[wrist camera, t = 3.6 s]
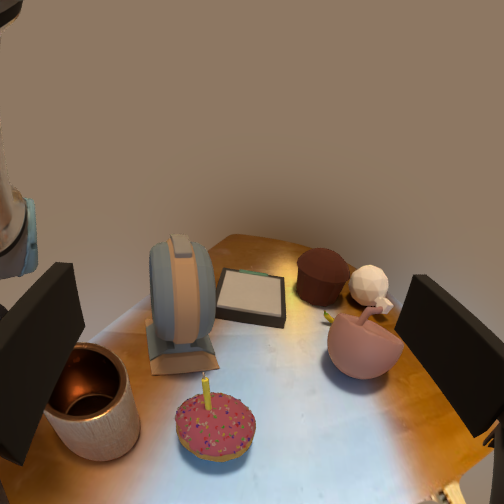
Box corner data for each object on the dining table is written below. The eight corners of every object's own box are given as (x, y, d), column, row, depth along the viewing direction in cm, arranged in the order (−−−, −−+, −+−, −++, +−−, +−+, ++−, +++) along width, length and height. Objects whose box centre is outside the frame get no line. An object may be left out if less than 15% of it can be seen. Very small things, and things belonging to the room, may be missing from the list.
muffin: (351, 302, 61) (365, 262, 57) (316, 316, 55) (330, 271, 51) (315, 276, 70) (326, 238, 66) (279, 285, 64) (289, 243, 59)
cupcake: (162, 442, 28) (151, 383, 22) (208, 403, 34) (213, 338, 29) (221, 486, 24) (232, 443, 19) (263, 438, 30) (286, 380, 25)
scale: (209, 316, 51) (211, 303, 49) (221, 277, 63) (223, 264, 62) (283, 328, 51) (287, 315, 49) (281, 286, 63) (284, 274, 62)
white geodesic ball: (334, 285, 63) (363, 323, 54) (357, 252, 60) (392, 288, 51) (356, 290, 68) (384, 325, 59) (379, 260, 64) (411, 294, 55)
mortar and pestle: (391, 360, 45) (419, 309, 40) (373, 406, 36) (409, 351, 31) (334, 333, 51) (354, 280, 46) (305, 372, 42) (327, 314, 37)
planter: (103, 379, 34) (89, 327, 30) (159, 428, 29) (151, 382, 25) (44, 417, 25) (15, 369, 21) (96, 479, 21) (67, 444, 16)
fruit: (352, 325, 54) (358, 312, 53) (354, 328, 53) (359, 316, 52) (319, 321, 54) (323, 308, 53) (319, 324, 53) (324, 312, 52)
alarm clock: (144, 316, 48) (141, 218, 40) (199, 313, 51) (207, 218, 44) (152, 381, 36) (143, 269, 28) (221, 373, 39) (235, 265, 32)
